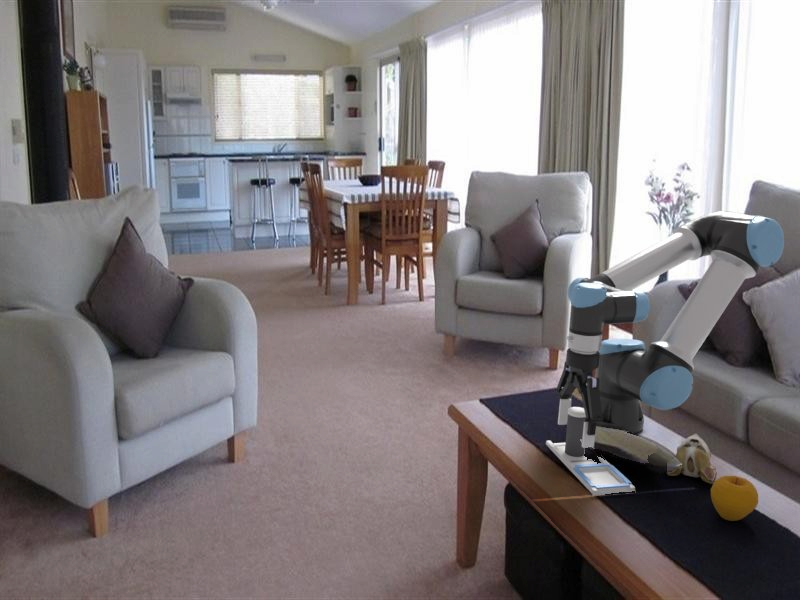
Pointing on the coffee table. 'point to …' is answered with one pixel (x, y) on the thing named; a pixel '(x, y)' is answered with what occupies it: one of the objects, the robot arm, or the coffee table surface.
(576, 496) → the coffee table surface
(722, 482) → the apple
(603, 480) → the white divided tray
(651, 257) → the robot arm
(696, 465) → the ceramic sculpture
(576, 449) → the grey and white cylinder
